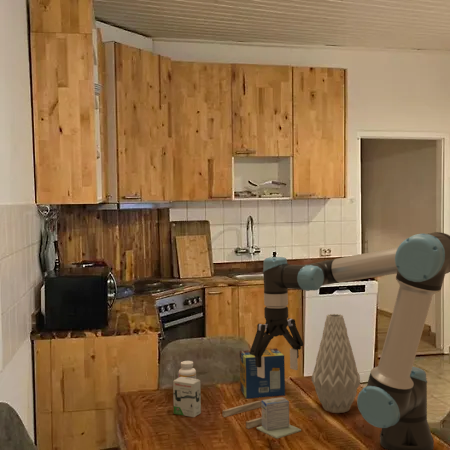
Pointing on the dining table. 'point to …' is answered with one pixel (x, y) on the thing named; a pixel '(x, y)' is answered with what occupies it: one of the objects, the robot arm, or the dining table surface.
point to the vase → (335, 367)
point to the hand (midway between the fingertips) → (277, 373)
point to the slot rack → (242, 409)
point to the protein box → (273, 375)
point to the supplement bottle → (187, 370)
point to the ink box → (187, 396)
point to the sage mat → (280, 431)
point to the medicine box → (275, 413)
